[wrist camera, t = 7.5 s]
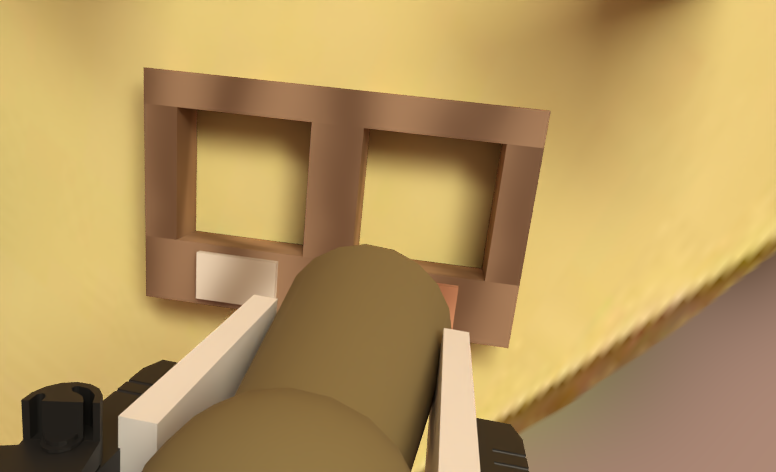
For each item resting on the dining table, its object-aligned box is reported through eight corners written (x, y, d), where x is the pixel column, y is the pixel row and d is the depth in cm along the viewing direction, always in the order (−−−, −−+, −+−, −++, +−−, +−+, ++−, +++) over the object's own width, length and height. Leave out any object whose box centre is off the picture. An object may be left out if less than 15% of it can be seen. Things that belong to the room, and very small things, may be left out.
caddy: (167, 283, 35) (142, 298, 32) (166, 71, 31) (139, 66, 29) (503, 331, 33) (508, 351, 30) (541, 111, 30) (552, 110, 27)
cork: (346, 432, 19) (207, 847, 8) (248, 302, 18) (-47, 569, 7) (486, 354, 17) (541, 729, 7) (386, 209, 17) (271, 373, 6)
